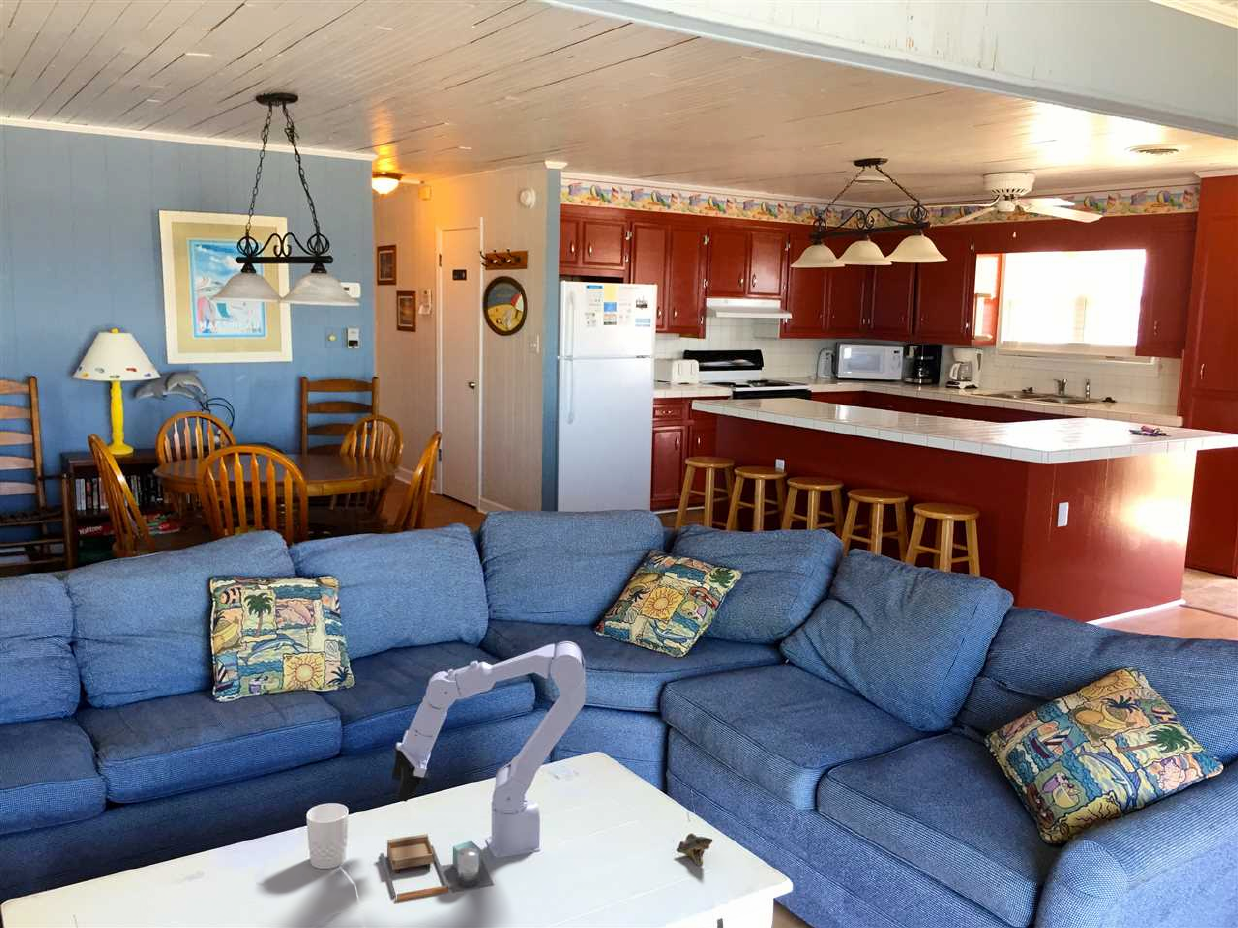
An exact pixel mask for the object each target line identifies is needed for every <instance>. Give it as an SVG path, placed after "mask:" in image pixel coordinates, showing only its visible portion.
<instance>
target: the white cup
mask: <svg viewBox="0 0 1238 928" xmlns="http://www.w3.org/2000/svg"><path fill="white" fill-rule="evenodd" d="M305 817H306V827H307V840H308V841H307V842H308V850H309V860H310V861H309V863H310V865H311V866H312V867H314V868H316V869H319V870H329V869H330V870H331V869H334V868H337V867H339V866H341V865H342V864H343V863H344V862H345V861H346V860H347V859H346V858H347V857H346V856H347V846H348V836H349V835H348V834H349V833H348V831H349V808H348V807H347V806H346V805H344V804H341V803H336V802H335V803H331V802H330V803H323V804H319V805H316V806H313V807H311V808H310V809H309V810H308V811H307V813H306V816H305Z"/></svg>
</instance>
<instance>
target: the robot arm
mask: <svg viewBox="0 0 1238 928" xmlns="http://www.w3.org/2000/svg"><path fill="white" fill-rule="evenodd" d="M533 673H534V674H537V675H538V676H540V677H542V678H544V679H547V680H548V679H549V675H550V676H551V678H552V680H553V681H554V683H555V684H556V685H557V687H558V690H559V694H560V695H559V696H558V698H557V699H556V701H555V702H554V704H553V705H552V707H551V708H550V709H549V711H548V712H547V714H546V715H545V716H544V717H543V719H542V720H541V722H540V724H539V725H538V726H537V728H536V729H535V731H534V732H533V733H532V735H531V736H530V738H529V739H528V740H527V742H526V743H525V744H524V746H523V748H522V749H521V751H520V752H519V753H518V754H517V755H515V756H514V757H513V758H512V759H511V761H510V762H509V763H507V764H505V765H503V766H502V767H500V768H499V769H498V771H497V773H496V775H495V785H494V791H493V794H492V801H491V836H488V837H486V838H485V842H486V844H487V846H488V848H489V850H490V851H491V854H492V855H493V857H494V859H499V858H505V857H506V858H507V857H511V856H516V855H517V856H518V855H522V854H523V855H525V854H529V853H535V852H539V851H541V847H540V838H541V837H540V832H541V831H540V830H541V829H540V826H541V825H540V824H541V823H540V821H541V819H540V818H541V817H540V812H539V811H540V810H539V806H538V803H537V801H535V800H528V799H527V798H526V793H527V792H528V790H529V789H530V787H531V785H532V782H533V780H534V778H535V775H536V773H537V772H538V771H539V769H540V768H541V766H542V765H543V763H545V761H546V759H547V758H548V756H549V754H551V752H552V751H553V749H554V748H555V746H556V745H557V743H558V742H559V741H560V739H561V738H562V736H563V735H564V734H565V732H566V731H567V729H568V728H569V727H570V726H571V724H572V722H573V721H574V720H575V718H576V717H577V716H578V715H579V713H580V711H581V709H583V707H584V705H585V703H586V700H587V698H586V696H587V695H586V692H587V691H586V689H587V687H586V686H587V685H586V684H587V683H586V681H587V680H586V661H585V658H584V655H583V652H582V650H581V648H580V646H579V645H578V644H577V643H575V642H573V641H570V640H563V641H560V642H558V643H557V644H556V643H550V644H546V645H544V646H542V647H540V648H537V649H535V650H532V651H529V652H526V653H523V654H520V655H518V656H515V657H511V658H509V659H507V660H503V661H500V662H498V663H495V664H489V663H487V662H485V661H481V662H478V661H477V660H473V661H470V665H468V666H463V667H462V668H461V667H460V668H457V669H455V670H454V669H453V668H450V669H447V672H446V671H444V670H442V671H438V672H436V673H435V674H433V676H431V677H430V678H429V681H428V684H427V688H426V689H425V690H426V691H425V695H424V696H423V698H422V699H421V700H422V702H421V703H420V704H419V705H418V708H417V711H416V712H415V715H414V718H413V719H412V722H411V724H410V726H409V729H408V730H407V729H406V731H404V732H405V733H404V735H403V738H402V742H400V741H396V742H394V761H393V766H392V771H391V779H392V780H395V781H400V782H399V786H398V789H397V792H396V800H397V801H401V802H405V803H406V802H408V801H409V800H410V798H411V797H412V795H413V794H414V793H415V792H416V790H417V789H418V788H419V787H420V786H421V785H423V784H424V783H425V782H427V781H428V780H429V778H430V775H429V772H427V770H428V768H427V764H428V762H429V759H430V757H431V753H432V750H433V748H434V746H435V742H436V741H437V739H438V736H439V733H440V731H441V728H442V726H443V724H444V722H445V720H446V717H447V713H448V709H449V708H450V707H451V706H452V705H453V704H454V702H455V701H456V700H458V699H459V700H462V699H464V698H468V697H471V696H474V695H479V694H481V693H484V692H488V691H491V690H492V689H493V687H494V685H495V684H496V682H501V681H504V680H509V679H513V678H516V677H521V676H525V675H529V674H533Z"/></svg>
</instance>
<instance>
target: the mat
mask: <svg viewBox="0 0 1238 928" xmlns="http://www.w3.org/2000/svg"><path fill="white" fill-rule="evenodd" d="M441 867H442V870H443V872H444V875H445V877H446V880H447V882H448V885H449V889H450V891H451V893H452V894H455V893H458V892H459V893H460V892H465V891H470V890H476V889H481V888H482V889H483V888H487V887H493V886H495V884H494V881H493V880H492V878H491V875H490V873H489V871H488V868H487V866H486V865H485V863H484V859H482V858H481V869H479V882H478V884H477V885H476V886H475V887H472V888H462V887H459V886H458V884H457V869H456V868H455V867H454V866H453V863H451V864H444V865H441Z"/></svg>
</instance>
